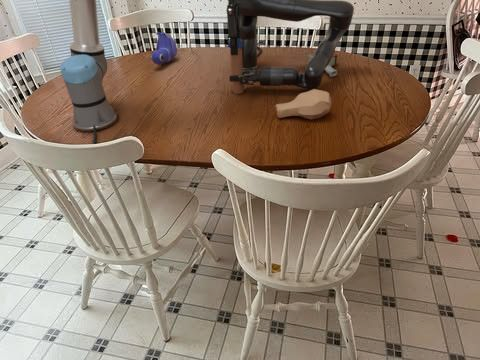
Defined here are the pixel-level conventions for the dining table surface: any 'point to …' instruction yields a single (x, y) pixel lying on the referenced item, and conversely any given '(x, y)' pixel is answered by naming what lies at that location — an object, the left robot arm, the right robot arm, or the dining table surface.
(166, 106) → the dining table surface
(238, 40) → the lid
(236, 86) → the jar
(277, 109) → the squash
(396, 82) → the dining table surface
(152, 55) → the toy
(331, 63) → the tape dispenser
